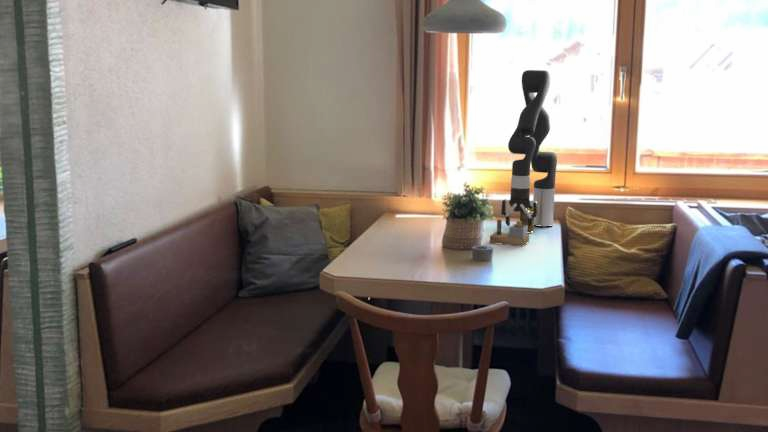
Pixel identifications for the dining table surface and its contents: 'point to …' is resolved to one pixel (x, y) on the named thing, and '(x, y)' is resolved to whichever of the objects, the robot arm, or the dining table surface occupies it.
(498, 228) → the keeper
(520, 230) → the link
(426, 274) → the dining table surface
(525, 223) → the condiment
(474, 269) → the dining table surface
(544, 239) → the dining table surface
